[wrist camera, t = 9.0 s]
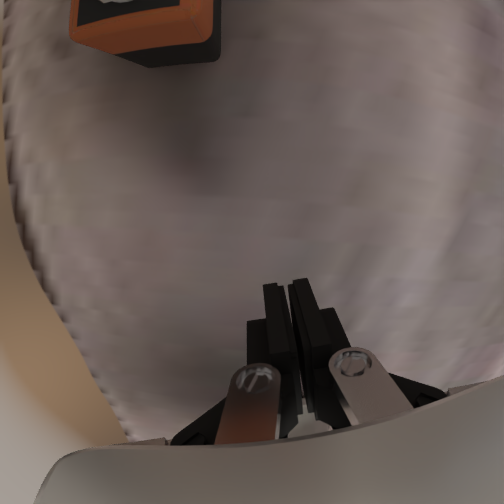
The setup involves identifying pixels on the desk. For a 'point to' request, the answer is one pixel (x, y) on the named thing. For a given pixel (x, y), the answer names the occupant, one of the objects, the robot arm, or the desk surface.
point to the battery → (150, 29)
